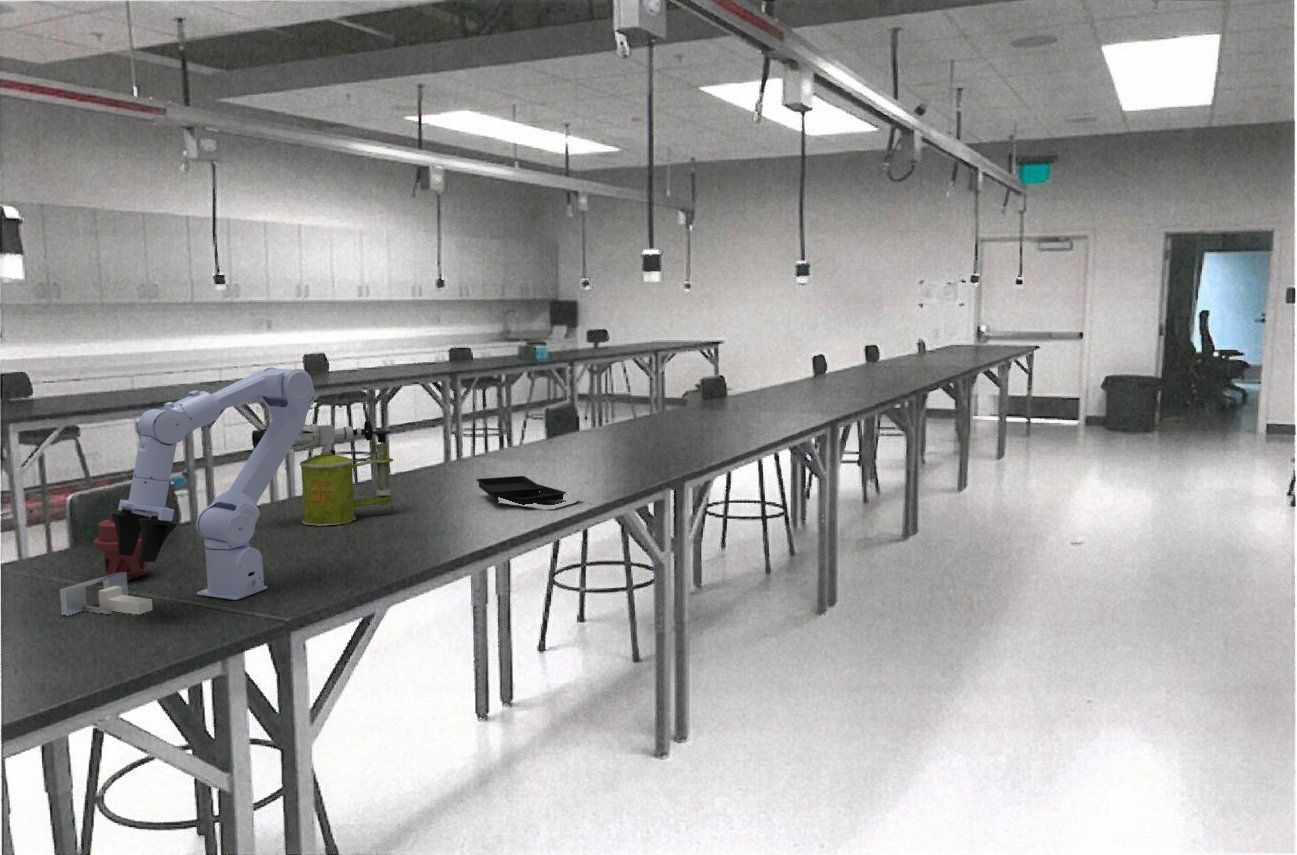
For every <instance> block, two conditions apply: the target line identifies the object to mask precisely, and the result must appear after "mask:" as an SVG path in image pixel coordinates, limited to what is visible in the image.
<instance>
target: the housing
mask: <svg viewBox="0 0 1297 855" xmlns="http://www.w3.org/2000/svg"><path fill="white" fill-rule="evenodd" d="M98 583H102V584H103V589H106V588H109V587H112V586H120V587H122V594H123V595H126V596H129V590H128V582H127V573H126V572H117V573H114V574H111V575H110V574H106V575H105V576H101V577H97V578H93V579H90V580H87V581H83V582H80V583H76V584H73V585H71V586H66V587H62V588H59V596H60V597H59V598H60V606H61V607H60V608H61V609H60V610H61V616H63V615H66V616H65V617H70V616H73V615H76V614H75V613H77V614H79V613H78V612H80V613H82V612H81V611H83V612H87V611H89V612H88V613H93V612H95V614H100V613H103V614H102V615H106V614H110V615H112V614H111V613H113V612H112V610H111V609H106V608H100V606H92V605H87V604H88V603H87V592H86V587H89V586H93V585H95V584H98ZM72 614H73V615H72ZM69 615H70V616H69Z"/></svg>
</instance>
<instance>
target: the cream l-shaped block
mask: <svg viewBox="0 0 1297 855" xmlns="http://www.w3.org/2000/svg"><path fill="white" fill-rule="evenodd" d="M97 591H98V602H99V608H106V609H111V610H112V611H116V612H123V613H131V614H138V615H139V614H142V613H145V612H147V611H151V610H153V599H151V598H146V597H140V596H139V597H137V596H131V595H128V596H126V595H123V594H122V587H120V586H112V587H109V588H106V589H104V588H103V589H100V590H97Z"/></svg>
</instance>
